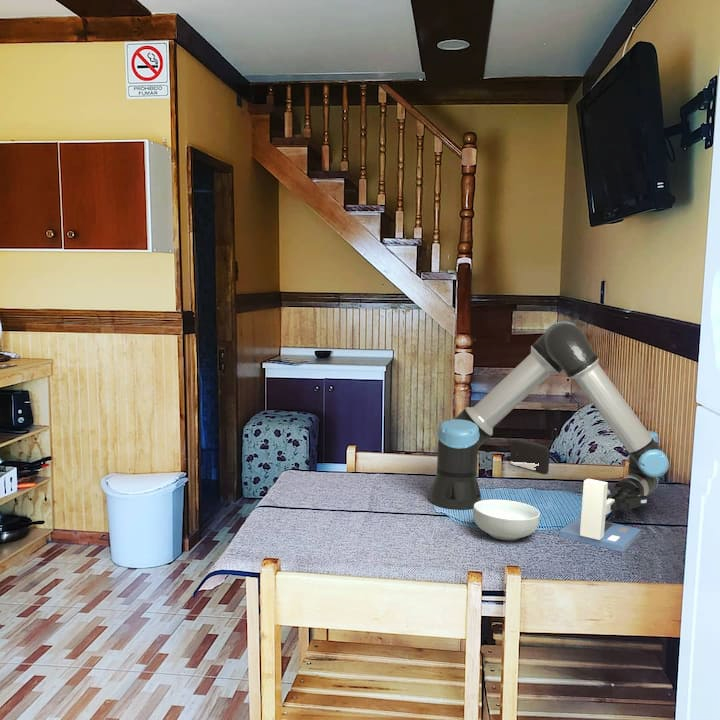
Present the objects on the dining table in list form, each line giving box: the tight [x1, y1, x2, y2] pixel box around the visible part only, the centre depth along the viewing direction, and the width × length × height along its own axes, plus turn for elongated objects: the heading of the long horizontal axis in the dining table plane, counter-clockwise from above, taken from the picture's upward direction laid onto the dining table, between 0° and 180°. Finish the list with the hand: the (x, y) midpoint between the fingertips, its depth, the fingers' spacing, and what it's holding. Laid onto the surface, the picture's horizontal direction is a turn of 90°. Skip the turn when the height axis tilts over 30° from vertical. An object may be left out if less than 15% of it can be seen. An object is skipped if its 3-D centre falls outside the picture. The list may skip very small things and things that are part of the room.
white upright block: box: [580, 478, 609, 540], centre depth 170 cm, size 3×5×14 cm, turn 53°
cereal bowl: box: [472, 499, 541, 541], centre depth 174 cm, size 17×17×7 cm
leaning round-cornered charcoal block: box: [509, 439, 551, 475], centre depth 242 cm, size 16×5×9 cm, turn 39°
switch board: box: [558, 515, 642, 553], centre depth 177 cm, size 16×16×2 cm
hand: (603, 509), depth 175 cm, fingers closed
